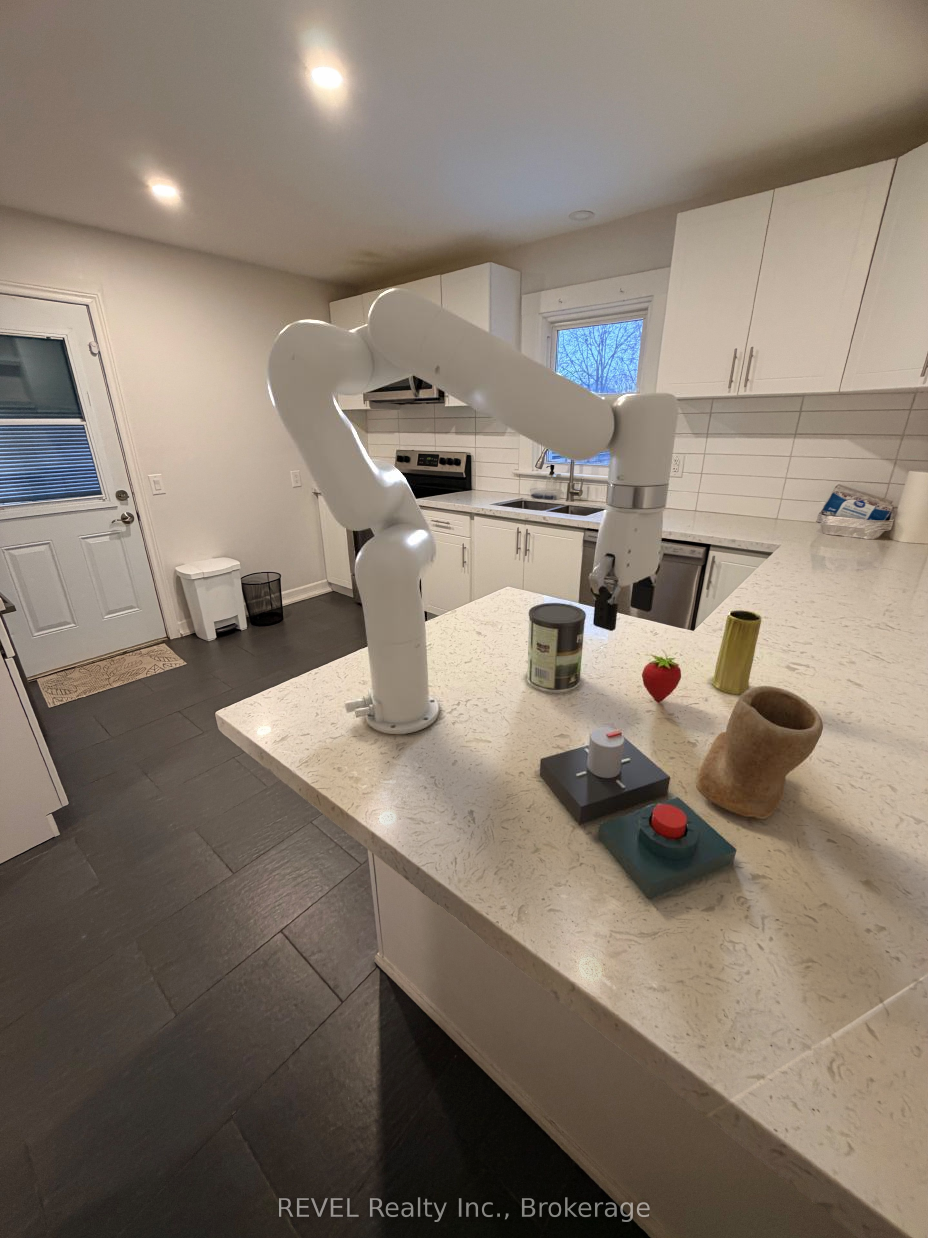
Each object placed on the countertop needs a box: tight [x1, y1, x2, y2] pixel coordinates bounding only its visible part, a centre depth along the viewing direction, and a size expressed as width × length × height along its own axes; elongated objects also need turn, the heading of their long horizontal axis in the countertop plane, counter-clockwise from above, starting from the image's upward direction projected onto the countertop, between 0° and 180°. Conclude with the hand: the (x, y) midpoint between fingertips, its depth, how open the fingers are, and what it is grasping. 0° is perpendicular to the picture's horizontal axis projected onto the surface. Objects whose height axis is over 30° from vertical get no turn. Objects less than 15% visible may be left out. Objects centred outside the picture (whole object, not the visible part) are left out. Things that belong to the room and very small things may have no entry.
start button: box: [651, 804, 687, 839], centre depth 56 cm, size 4×4×2 cm
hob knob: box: [587, 726, 624, 778], centre depth 66 cm, size 4×4×5 cm
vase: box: [711, 609, 763, 695], centre depth 90 cm, size 6×6×14 cm
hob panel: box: [539, 736, 671, 826], centre depth 68 cm, size 14×10×3 cm
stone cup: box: [695, 685, 824, 820], centre depth 65 cm, size 15×12×15 cm
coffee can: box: [526, 602, 587, 694], centre depth 93 cm, size 10×10×14 cm
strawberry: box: [641, 650, 682, 703], centre depth 86 cm, size 6×8×10 cm
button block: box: [597, 796, 737, 900], centre depth 57 cm, size 12×9×4 cm
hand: (623, 618), depth 71 cm, fingers open, 9 cm apart
